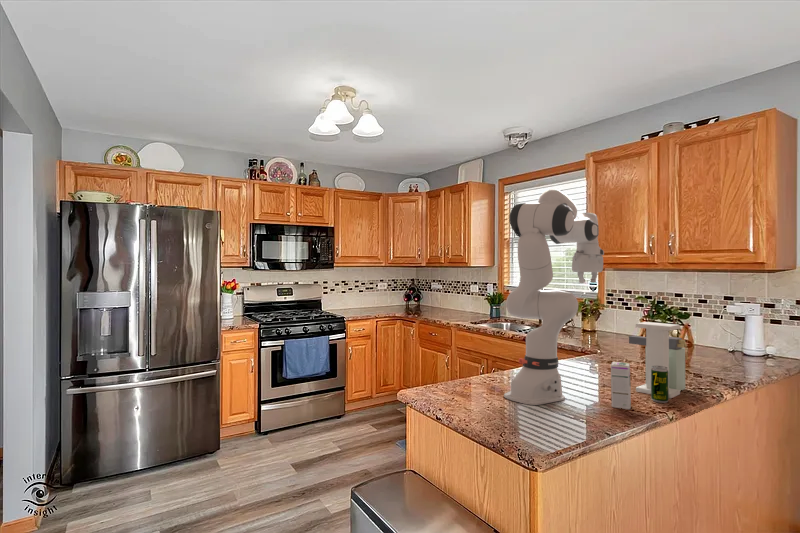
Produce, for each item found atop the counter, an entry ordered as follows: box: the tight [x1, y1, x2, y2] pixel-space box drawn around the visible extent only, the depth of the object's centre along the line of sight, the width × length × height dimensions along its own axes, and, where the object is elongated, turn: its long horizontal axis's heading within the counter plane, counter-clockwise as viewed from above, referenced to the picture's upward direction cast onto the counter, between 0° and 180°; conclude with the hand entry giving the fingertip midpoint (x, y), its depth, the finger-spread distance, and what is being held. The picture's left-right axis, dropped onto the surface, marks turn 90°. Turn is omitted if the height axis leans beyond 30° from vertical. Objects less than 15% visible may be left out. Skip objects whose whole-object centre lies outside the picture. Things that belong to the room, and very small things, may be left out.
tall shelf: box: [635, 321, 681, 399], centre depth 165 cm, size 9×12×26 cm
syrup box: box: [610, 361, 632, 410], centre depth 148 cm, size 6×6×14 cm
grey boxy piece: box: [628, 335, 688, 350], centre depth 174 cm, size 20×6×4 cm, turn 39°
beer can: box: [650, 366, 670, 404], centre depth 154 cm, size 5×5×12 cm
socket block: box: [645, 346, 686, 392], centre depth 172 cm, size 9×11×16 cm
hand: (587, 282), depth 187 cm, fingers open, 8 cm apart
